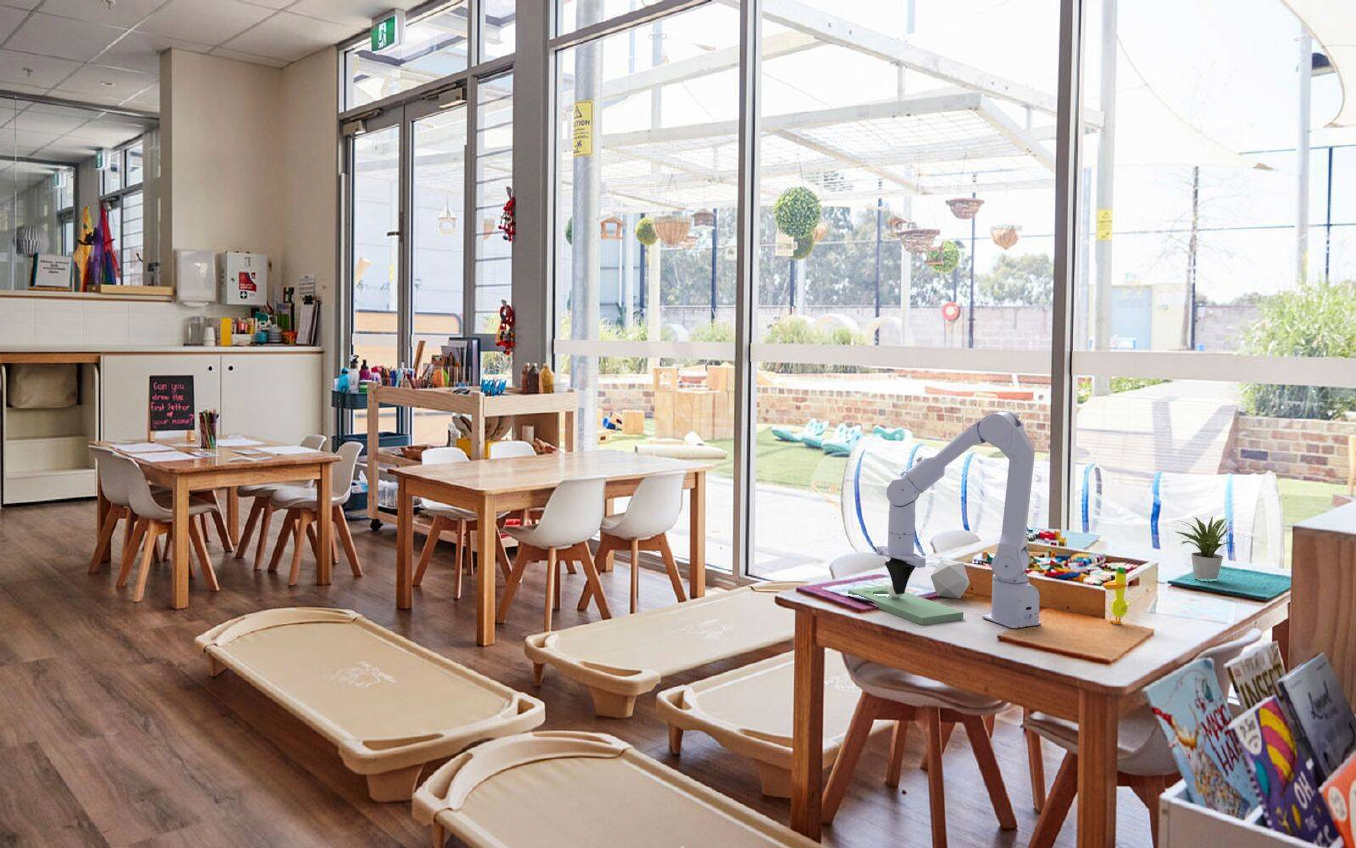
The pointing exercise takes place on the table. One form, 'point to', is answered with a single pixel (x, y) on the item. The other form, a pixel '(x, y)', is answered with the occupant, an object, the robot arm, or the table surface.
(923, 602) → the green
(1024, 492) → the robot arm
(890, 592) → the ball
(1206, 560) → the house plant
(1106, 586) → the toy figure
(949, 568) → the die
